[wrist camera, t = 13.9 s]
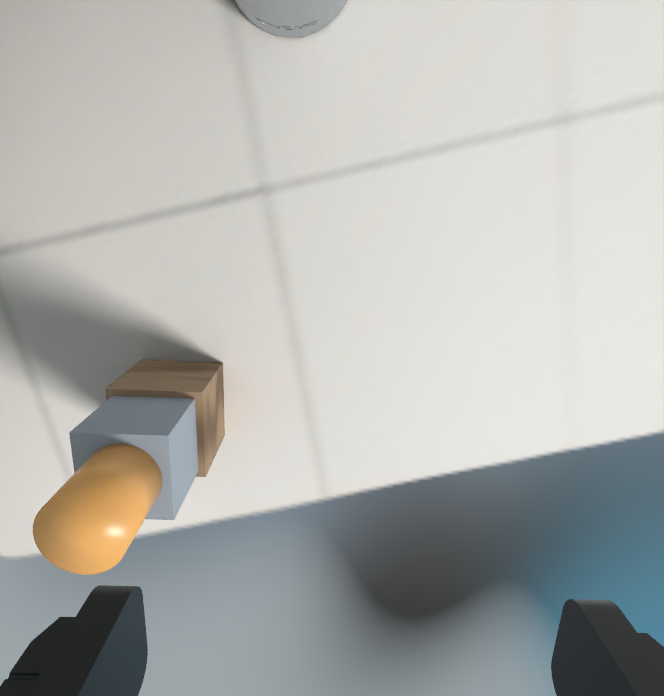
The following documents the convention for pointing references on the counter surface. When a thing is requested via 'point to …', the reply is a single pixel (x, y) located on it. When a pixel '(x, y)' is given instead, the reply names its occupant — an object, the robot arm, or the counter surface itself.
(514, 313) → the counter surface
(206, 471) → the walnut base cube
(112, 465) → the orange rounded cylinder
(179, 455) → the grey top cube
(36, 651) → the robot arm
